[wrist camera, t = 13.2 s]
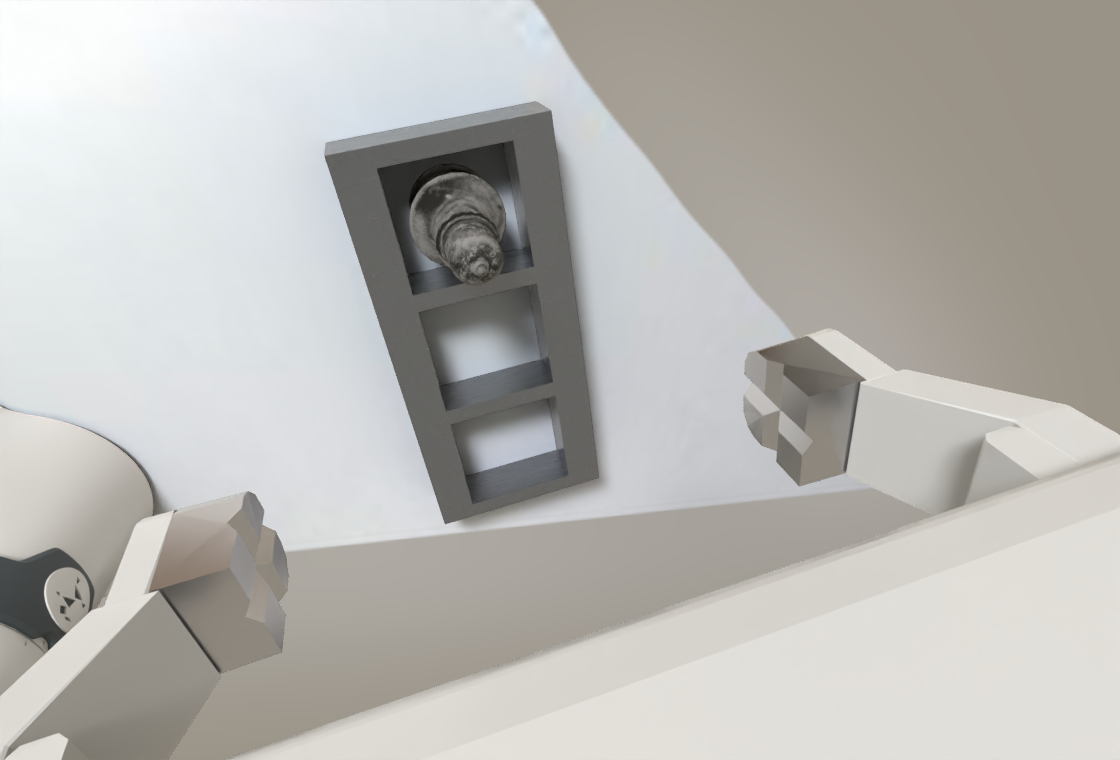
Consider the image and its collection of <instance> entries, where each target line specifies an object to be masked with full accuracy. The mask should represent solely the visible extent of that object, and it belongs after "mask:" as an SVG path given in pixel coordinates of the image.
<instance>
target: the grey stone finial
mask: <svg viewBox="0 0 1120 760" xmlns="http://www.w3.org/2000/svg"><path fill="white" fill-rule="evenodd" d="M409 204H410V214H409V224H410V231H411V234H412V237H413V240H414V242H415V244H416V245H417V246H418V248H419V249H420V251H421V252H422V253H423V254H424V255H425V256H427V257H428V258H429V259H430V260H432V261H434V262H436V263H438V264H440V265H443V266H448V267H449V268H451V270H452V272H453V273H454V275H455V276H456V277H457V278H458V279H459V280H460V281H462V282H464V283H466V284H468V285H472V286H482V285H485V284H488V283H490V282H492V281H493V280H495V279H496V278H497V277H498V276H499V274H500V272H501V271H502V268H503V264H504V255H503V252H502V249H501V247H500V241H501V240H502V238H503V234H504V231H505V227H506V213H505V209H504V205H503V202H502V200H501V198H500V197H499V195H498V193H497V191H496V190H495V189H494V188H493V187H492V186H491V185H490V184H489V183H488V182H486V181H485V180H483V179H481V178H480V177H479V176H478V175H477V174H476V173H475V172H474V171H472V170H470V169H468V168H467V167H464V166H461V165H457V164H442V165H439V166H435V167H433V168H431V169H429V170H428V171H426V172H424V173H423V174H422V175H421V176H420V177H419V179H418V180H417V181H416V183H415V185H414V186H413V188H412V190H411V195H410V200H409Z"/></svg>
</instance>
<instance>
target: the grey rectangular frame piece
mask: <svg viewBox="0 0 1120 760" xmlns="http://www.w3.org/2000/svg"><path fill="white" fill-rule="evenodd" d="M498 143H504V149H505V155H506V160H507V166H508V172H509V178H510V183H511V189H512V195H513V201H514V206H515V212H516V218H517V224H518V229H519V235H520V241H521V247H522V249H517V250H513V251H509V252H505V253H503V255H504V264H503V268H502V271H501V272H500V274H499V276H498V277H497V278H496V279H495V280H493V281H492V282H490V283H488V284H485V285H482V286H472V285H468V284H466V283H464V282H462V281H460V280H459V279H458V278H457V277H456V276H455V275H454V273H453V272H452V270H451V268H449V267H448V266H445V267H441V268H437V269H432V270H428V271H424V272H420V273H415V274H411V275H408V273H407V269H406V266H405V262H404V259H403V255H402V252H401V248H400V245H399V241H398V238H397V234H396V231H395V227H394V224H393V220H392V217H391V213H390V210H389V206H388V203H387V199H386V196H385V192H384V189H383V185H382V182H381V178H380V175H379V171H378V168H381V167H386V166H391V165H396V164H401V163H406V162H411V161H415V160H420V159H425V158H430V157H435V156H440V155H444V154H449V153H454V152H459V151H464V150H469V149H474V148H478V147H483V146H488V145H493V144H498ZM325 159H326V162H327V165H328V168H329V171H330V174H331V177H332V180H333V183H334V186H335V189H336V192H337V196H338V199H339V202H340V205H341V208H342V211H343V214H344V217H345V220H346V223H347V226H348V229H349V232H350V235H351V238H352V241H353V244H354V248H355V251H356V254H357V257H358V260H359V263H360V266H361V269H362V272H363V275H364V278H365V281H366V284H367V287H368V290H369V293H370V296H371V299H372V303H373V306H374V309H375V312H376V315H377V318H378V321H379V324H380V327H381V330H382V333H383V336H384V339H385V342H386V345H387V348H388V351H389V354H390V358H391V361H392V364H393V367H394V370H395V373H396V376H397V379H398V382H399V385H400V388H401V391H402V394H403V397H404V400H405V403H406V406H407V410H408V413H409V416H410V419H411V422H412V425H413V428H414V431H415V434H416V437H417V440H418V443H419V446H420V449H421V452H422V455H423V458H424V461H425V465H426V468H427V471H428V474H429V477H430V480H431V483H432V486H433V489H434V492H435V495H436V498H437V501H438V504H439V507H440V510H441V513H442V517H443V520H444V523H445V524H447V523H451V522H454V521H457V520H461V519H464V518H467V517H471V516H474V515H477V514H481V513H484V512H487V511H491V510H494V509H497V508H500V507H504V506H507V505H510V504H514V503H517V502H520V501H524V500H527V499H530V498H534V497H537V496H540V495H544V494H547V493H550V492H553V491H557V490H560V489H563V488H567V487H570V486H573V485H577V484H580V483H583V482H587V481H590V480H593V479H596V478H599V473H598V465H597V458H596V450H595V442H594V435H593V427H592V419H591V412H590V404H589V396H588V389H587V381H586V373H585V366H584V358H583V350H582V343H581V335H580V327H579V319H578V312H577V304H576V296H575V289H574V281H573V273H572V266H571V258H570V250H569V243H568V235H567V227H566V220H565V212H564V204H563V197H562V189H561V181H560V174H559V166H558V158H557V151H556V143H555V135H554V128H553V120H552V112H551V110H550V109H548V108H546V107H545V106H543V105H541V104H540V103H538V102H531V103H526V104H521V105H516V106H511V107H506V108H501V109H495V110H490V111H485V112H480V113H475V114H470V115H465V116H460V117H455V118H450V119H445V120H440V121H435V122H430V123H424V124H419V125H414V126H409V127H404V128H399V129H394V130H389V131H384V132H379V133H374V134H369V135H364V136H358V137H353V138H348V139H343V140H338V141H333V142H328V143H326V146H325ZM527 285H528V287H529V293H530V298H531V304H532V310H533V316H534V321H535V327H536V333H537V339H538V344H539V350H540V356H541V360H537V361H533V362H530V363H526V364H522V365H518V366H515V367H511V368H507V369H503V370H500V371H496V372H492V373H488V374H485V375H481V376H477V377H473V378H470V379H466V380H462V381H458V382H454V383H451V384H447V385H443V386H440V385H439V381H438V378H437V374H436V371H435V367H434V364H433V360H432V357H431V353H430V350H429V346H428V343H427V339H426V336H425V332H424V329H423V325H422V322H421V318H420V315H419V312H421V311H426V310H430V309H434V308H438V307H442V306H446V305H450V304H454V303H458V302H462V301H466V300H470V299H474V298H479V297H483V296H487V295H491V294H495V293H499V292H503V291H507V290H511V289H515V288H519V287H523V286H527ZM545 398H548V402H549V408H550V413H551V419H552V425H553V431H554V436H555V442H556V448H557V450H555V451H551V452H548V453H545V454H541V455H538V456H534V457H531V458H527V459H524V460H521V461H517V462H514V463H510V464H507V465H503V466H500V467H497V468H493V469H490V470H486V471H483V472H479V473H476V474H472V475H469V476H465V473H464V469H463V466H462V462H461V459H460V455H459V452H458V448H457V445H456V441H455V438H454V434H453V431H452V427H451V424H455V423H458V422H462V421H465V420H469V419H473V418H476V417H480V416H484V415H487V414H491V413H494V412H498V411H502V410H505V409H509V408H512V407H516V406H520V405H523V404H527V403H531V402H534V401H538V400H541V399H545Z"/></svg>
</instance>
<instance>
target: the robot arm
mask: <svg viewBox="0 0 1120 760" xmlns="http://www.w3.org/2000/svg"><path fill="white" fill-rule="evenodd" d="M744 374H745V375H746V376H747V377H748V378H749V379H750V381H751V382H752V383H751V385H750V386H749V388H748V389H747V391H746V392H745V394H744V414H745V418H746V421H747V425H748V427H749V429H750V431H751V433H752V434H753V436H754V437H755V439H756V440H757V441H758V442H759V443H760V444H761V445H762V446H764V447H767V448H770V449H773V450H776V451H777V460H776V462H777V463H778V464H779V465H780V466H781V467H782V468H783V469H784V470H785V472H786V473H787V474H788V475H789V476H790V477H791V478H792V479H793V480H794V481H795V482H796V483H797V484H798V486H802V485H806V484H809V483H813V482H816V481H820V480H823V479H827V478H830V477H833V476H837V475H840V474H844V473H846V476H848V477H851V478H853V479H855V480H857V481H859V482H861V483H864V484H866V485H868V486H870V487H872V488H875V489H877V490H879V491H881V492H883V493H886V494H888V495H890V496H892V497H894V498H896V499H899V500H901V501H903V502H905V503H907V504H910V505H912V506H914V507H916V508H918V509H921V510H923V511H925V512H927V513H929V514H932V515H934V516H932V517H929V518H926V519H923V520H921V521H917V522H915V523H912V524H909V525H906V526H903V527H900V528H898V529H894V530H892V531H889V532H886V533H883V534H880V535H877V536H874V537H871V538H868V539H865V540H862V541H859V542H857V543H854V544H851V545H848V546H845V547H842V548H839V549H836V550H833V551H830V552H827V553H824V554H821V555H818V556H816V557H813V558H810V559H807V560H804V561H801V562H798V563H795V564H792V565H789V566H786V567H783V568H780V569H778V570H775V571H772V572H769V573H766V574H763V575H760V576H757V577H754V578H751V579H748V580H745V581H742V582H739V583H737V584H733V585H731V586H728V587H725V588H722V589H719V590H716V591H713V592H710V593H708V594H704V595H701V596H699V597H695V598H693V599H690V600H687V601H684V602H681V603H678V604H675V605H672V606H669V607H666V608H663V609H660V610H658V611H655V612H652V613H649V614H646V615H643V616H640V617H637V618H634V619H631V620H629V621H626V622H623V623H620V624H617V625H614V626H611V627H608V628H605V629H603V630H599V631H596V632H594V633H591V634H588V635H585V636H582V637H579V638H576V639H573V640H570V641H568V642H564V643H562V644H559V645H556V646H553V647H550V648H547V649H544V650H541V651H538V652H536V653H532V654H530V655H527V656H524V657H521V658H518V659H515V660H512V661H509V662H506V663H503V664H501V665H498V666H495V667H492V668H489V669H486V670H483V671H480V672H477V673H474V674H472V675H469V676H465V677H463V678H460V679H457V680H454V681H451V682H448V683H445V684H442V685H439V686H436V687H433V688H431V689H428V690H425V691H422V692H419V693H416V694H413V695H410V696H407V697H405V698H401V699H398V700H396V701H393V702H390V703H387V704H384V705H381V706H378V707H375V708H372V709H369V710H367V711H364V712H361V713H358V714H355V715H352V716H349V717H346V718H343V719H340V720H338V721H334V722H331V723H329V724H326V725H323V726H320V727H317V728H314V729H311V730H308V731H305V732H302V733H300V734H296V735H294V736H291V737H288V738H285V739H282V740H279V741H276V742H273V743H270V744H267V745H264V746H262V747H259V748H256V749H253V750H250V751H247V752H244V753H241V754H238V755H235V756H232V757H229V758H227V759H224V760H1120V435H1118V434H1116V433H1115V432H1113V431H1111V430H1110V429H1108V428H1106V427H1105V426H1103V425H1101V424H1099V423H1098V422H1096V421H1094V420H1093V419H1091V418H1089V417H1087V416H1086V415H1084V414H1082V413H1080V412H1079V411H1077V410H1075V409H1073V408H1072V407H1070V406H1068V405H1064V404H1060V403H1055V402H1050V401H1046V400H1042V399H1037V398H1032V397H1028V396H1023V395H1019V394H1014V393H1010V392H1005V391H1000V390H996V389H991V388H987V387H982V386H978V385H973V384H969V383H964V382H960V381H955V380H950V379H946V378H942V377H937V376H933V375H928V374H924V373H919V372H914V371H910V370H901V371H898V372H897V371H895V370H894V369H892V368H891V367H889V366H888V365H886V364H885V363H883V362H882V361H880V360H879V359H878V358H876V357H875V356H873V355H872V354H870V353H869V352H867V351H866V350H865V349H863V348H862V347H860V346H859V345H857V344H856V343H854V342H853V341H851V340H850V339H848V338H847V337H846V336H844V335H843V334H841V333H840V332H838V331H837V330H833V329H825V330H821V331H818V332H815V333H812V334H808V335H805V336H802V337H801V338H798V339H795V340H791V341H788V342H784V343H781V344H777V345H774V346H770V347H767V348H763V349H760V350H756V351H753V352H749V353H748V355H747V358H746V360H745V372H744ZM263 515H264V509H263V507H262V506H261V504H260V502H259V501H258V499H257V497H256V495H255V494H253V493H251V492H249V491H247V492H243V493H239V494H235V495H231V496H227V497H224V498H220V499H216V500H212V501H208V502H204V503H200V504H196V505H192V506H188V507H185V508H181V509H179V510H173V511H170V512H166V513H162V514H159V515H155V516H153V496H152V492H151V489H150V486H149V483H148V481H147V479H146V477H145V476H144V474H143V473H142V471H141V470H140V468H139V467H138V466H137V465H136V463H135V462H134V461H133V460H132V459H131V458H130V457H129V456H128V455H127V454H125V453H124V452H123V451H122V450H121V449H119V448H118V447H117V446H115V445H114V444H112V443H111V442H109V441H108V440H106V439H104V438H103V437H101V436H99V435H97V434H95V433H93V432H91V431H88V430H86V429H84V428H81V427H78V426H76V425H73V424H70V423H67V422H63V421H60V420H56V419H51V418H47V417H41V416H36V415H30V414H25V413H20V412H15V411H12V410H8V409H5V408H3V407H1V406H0V760H169V758H170V756H171V755H172V753H173V752H174V750H175V749H176V747H177V745H178V744H179V742H180V741H181V739H182V738H183V736H184V735H185V733H186V731H187V730H188V728H189V727H190V725H191V724H192V722H193V720H194V719H195V717H196V716H197V714H198V713H199V711H200V710H201V708H202V707H203V705H204V703H205V702H206V700H207V699H208V697H209V696H210V694H211V692H212V691H213V689H214V688H215V686H216V685H217V683H218V682H219V680H220V679H221V675H220V674H222V673H224V672H227V671H230V670H233V669H236V668H239V667H241V666H244V665H247V664H250V663H253V662H256V661H259V660H262V659H265V658H267V657H270V656H273V655H276V654H279V653H282V647H283V636H284V626H285V616H286V615H285V613H284V611H283V609H282V607H281V606H280V604H279V601H280V600H281V599H282V597H283V596H284V595H285V593H286V592H287V591H288V578H289V574H288V567H287V559H286V555H285V552H284V549H283V546H282V543H281V541H280V539H279V537H278V535H277V533H276V531H274V530H272V529H270V528H267V527H265V526H263V525H262V523H263ZM107 595H108V597H107V599H106V602H105V605H104V607H100V608H97V606H98V605H99V603H100V601H101V599H102V598H103V597H105V596H107ZM96 608H97V609H96Z"/></svg>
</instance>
